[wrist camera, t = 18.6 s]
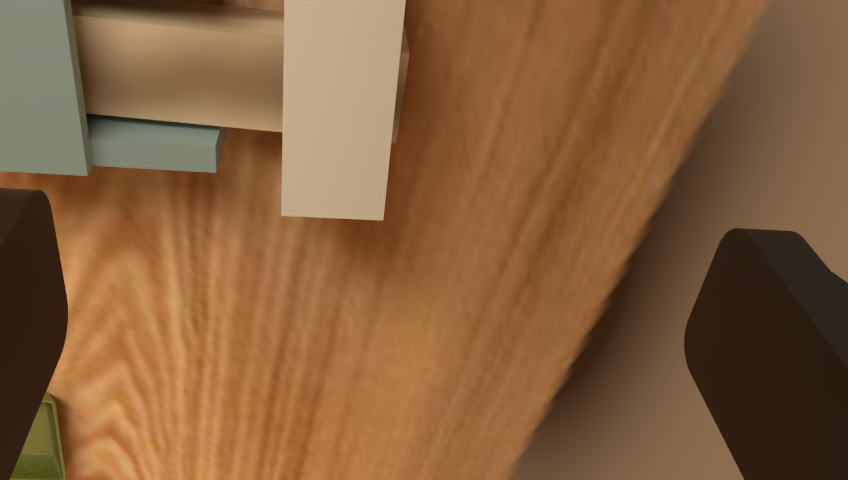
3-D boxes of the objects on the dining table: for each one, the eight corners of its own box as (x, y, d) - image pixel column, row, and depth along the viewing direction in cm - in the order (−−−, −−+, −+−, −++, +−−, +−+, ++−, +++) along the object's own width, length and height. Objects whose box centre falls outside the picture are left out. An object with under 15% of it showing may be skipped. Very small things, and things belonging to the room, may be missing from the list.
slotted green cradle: (-45, -104, 37) (-104, -70, 32) (222, -77, 38) (205, -42, 33) (-1, 113, 43) (-44, 168, 38) (227, 127, 44) (213, 183, 40)
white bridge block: (376, 144, 46) (383, 220, 39) (289, 138, 45) (281, 215, 39) (396, -72, 39) (408, -22, 33) (293, -82, 38) (284, -33, 32)
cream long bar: (46, -19, 39) (20, 9, 36) (404, 24, 42) (409, 54, 39) (57, 74, 42) (34, 108, 39) (392, 109, 45) (396, 143, 42)
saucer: (74, 461, 60) (67, 484, 58) (-51, 456, 58) (-62, 480, 56) (64, 378, 55) (55, 400, 53) (-73, 371, 53) (-86, 394, 52)
